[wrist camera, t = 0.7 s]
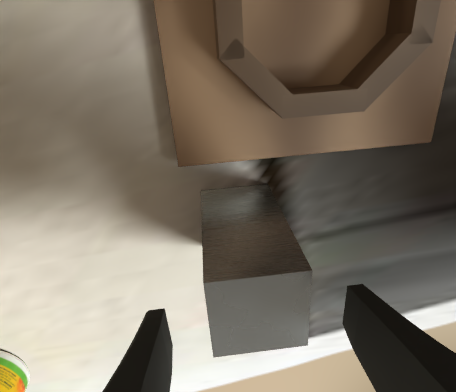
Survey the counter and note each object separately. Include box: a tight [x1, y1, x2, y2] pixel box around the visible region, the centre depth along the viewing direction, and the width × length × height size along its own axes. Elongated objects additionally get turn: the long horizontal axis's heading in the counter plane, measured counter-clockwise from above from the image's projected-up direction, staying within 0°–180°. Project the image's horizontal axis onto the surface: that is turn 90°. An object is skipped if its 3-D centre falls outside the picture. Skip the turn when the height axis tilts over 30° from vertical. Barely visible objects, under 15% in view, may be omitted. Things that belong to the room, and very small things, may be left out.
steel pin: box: [201, 184, 312, 357], centre depth 16 cm, size 4×4×8 cm
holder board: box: [154, 0, 456, 167], centre depth 13 cm, size 14×14×3 cm
